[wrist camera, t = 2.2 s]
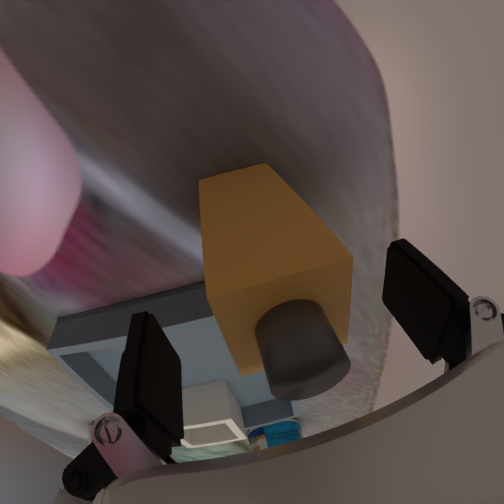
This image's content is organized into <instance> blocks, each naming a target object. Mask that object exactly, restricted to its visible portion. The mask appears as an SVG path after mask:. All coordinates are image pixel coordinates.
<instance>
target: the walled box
mask: <svg viewBox="0 0 504 504" xmlns="http://www.w3.org/2000/svg"><path fill="white" fill-rule="evenodd" d="M144 311H147V312H148V313H149V314H153V315H154V316H155V318H156V319H157V321H158V323H159V325H160V326H161V328H162V330H163V331H164V333H165V335H166V336H167V338H168V340H169V341H170V343H171V344H172V346H173V348H174V349H175V351H176V352H177V354H178V355H179V357H180V360H181V366H182V402H183V422H184V438H183V439H181V444H183V445H184V446H186V447H187V448H194V447H202V446H209V445H216V444H222V443H228V442H233V441H238V440H243V439H247V435H246V431H245V430H249V429H254V428H258V427H262V426H266V425H270V424H274V423H278V422H281V421H285V420H288V419H292V418H295V417H298V416H301V412H300V404H299V400H296V401H285V400H280V399H277V398H275V397H274V396H273V395H272V394H271V391H270V388H269V384H268V381H267V377H266V374H265V370H263V371H259V372H255V373H251V374H247V375H243V376H241V375H240V373H239V370H238V368H237V366H236V364H235V362H234V360H233V357H232V355H231V353H230V351H229V349H228V346H227V344H226V342H225V340H224V337H223V335H222V333H221V330H220V328H219V326H218V323H217V321H216V319H215V316H214V314H213V312H212V309H211V307H210V304H209V302H208V300H207V296H206V285H205V281H204V282H200V283H197V284H193V285H189V286H185V287H181V288H178V289H174V290H170V291H166V292H162V293H159V294H155V295H151V296H147V297H143V298H139V299H135V300H131V301H127V302H123V303H119V304H115V305H111V306H107V307H103V308H99V309H95V310H91V311H87V312H83V313H79V314H75V315H71V316H66V317H62V318H58V320H57V323H56V325H55V328H54V330H53V333H52V336H51V338H50V341H49V344H48V347H47V351H48V352H49V353H50V354H51V355H52V356H53V358H54V359H55V360H56V361H57V362H58V363H59V364H60V365H61V366H62V367H63V368H64V369H65V370H66V371H67V372H68V373H69V374H70V375H71V376H72V377H73V378H74V379H76V380H77V381H78V382H79V383H80V384H81V385H82V386H83V387H84V388H85V389H87V390H88V391H89V392H90V393H91V394H92V395H93V396H95V397H96V398H97V399H98V400H99V401H100V402H102V403H103V404H104V405H105V406H107V407H108V408H109V409H110V410H112V411H113V408H114V400H115V392H116V385H117V379H118V372H119V366H120V360H121V355H122V353H123V351H125V346H126V341H127V336H128V331H129V326H130V321H131V316H132V315H133V314H135V313H139V312H144Z"/></svg>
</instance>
